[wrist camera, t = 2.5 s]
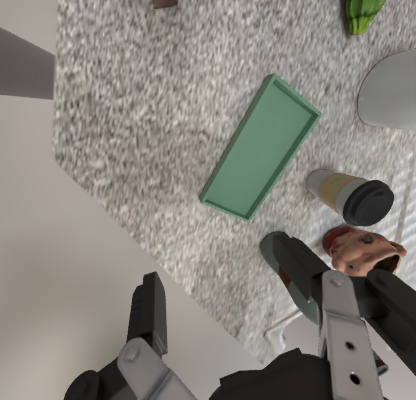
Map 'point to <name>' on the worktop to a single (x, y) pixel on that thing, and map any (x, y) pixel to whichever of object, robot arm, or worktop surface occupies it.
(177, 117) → the worktop surface
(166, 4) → the walnut stand
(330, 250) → the decorative planter
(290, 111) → the tray
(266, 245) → the vodka
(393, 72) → the utensil holder
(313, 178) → the coffee cup
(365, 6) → the vegetable
